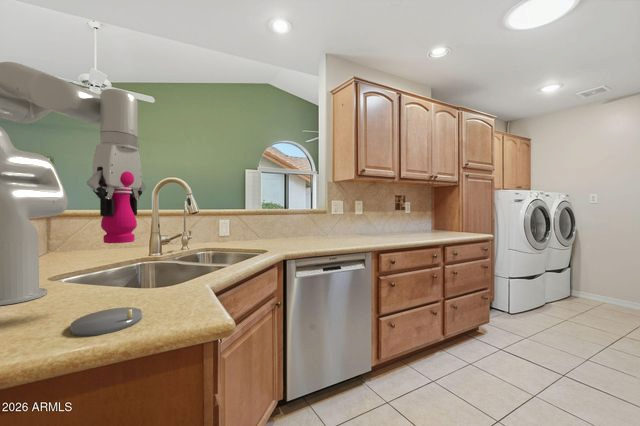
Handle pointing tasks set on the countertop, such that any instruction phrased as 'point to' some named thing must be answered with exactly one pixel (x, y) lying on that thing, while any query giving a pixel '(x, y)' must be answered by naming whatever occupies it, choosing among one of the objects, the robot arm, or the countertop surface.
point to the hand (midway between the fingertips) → (119, 215)
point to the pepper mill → (121, 214)
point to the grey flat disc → (106, 321)
